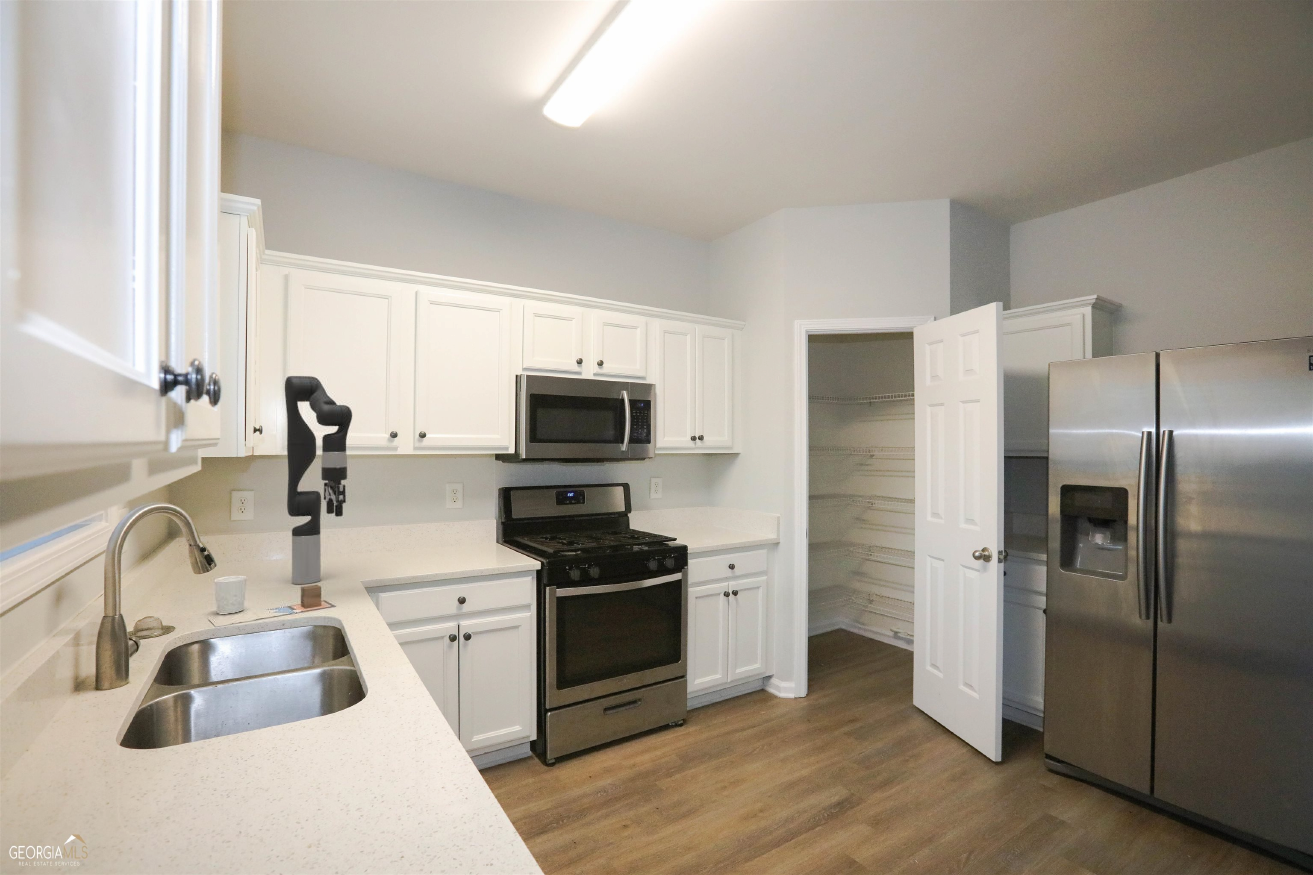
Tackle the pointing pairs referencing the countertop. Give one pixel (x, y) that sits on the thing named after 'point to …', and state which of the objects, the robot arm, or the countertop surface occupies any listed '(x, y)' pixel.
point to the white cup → (230, 594)
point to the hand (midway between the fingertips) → (334, 515)
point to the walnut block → (310, 596)
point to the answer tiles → (298, 607)
